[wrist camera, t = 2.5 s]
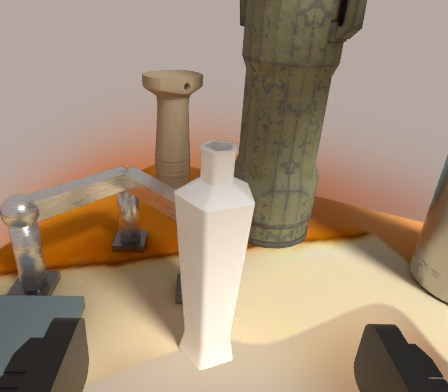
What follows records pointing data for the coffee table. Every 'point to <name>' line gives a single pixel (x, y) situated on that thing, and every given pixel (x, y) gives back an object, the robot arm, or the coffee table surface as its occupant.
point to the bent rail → (72, 198)
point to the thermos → (287, 106)
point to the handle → (172, 122)
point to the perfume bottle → (212, 252)
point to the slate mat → (31, 319)
